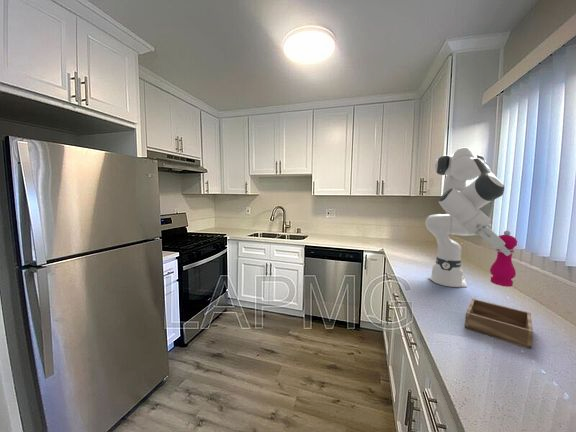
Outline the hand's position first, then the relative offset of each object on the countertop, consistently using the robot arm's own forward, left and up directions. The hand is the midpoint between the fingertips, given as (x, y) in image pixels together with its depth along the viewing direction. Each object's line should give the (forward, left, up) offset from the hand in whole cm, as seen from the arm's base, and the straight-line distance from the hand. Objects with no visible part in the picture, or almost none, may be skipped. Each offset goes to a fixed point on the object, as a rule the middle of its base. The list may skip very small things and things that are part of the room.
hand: (507, 252), depth 91 cm
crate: (0, -1, -29) cm, 29 cm away
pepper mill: (0, -1, -12) cm, 12 cm away
